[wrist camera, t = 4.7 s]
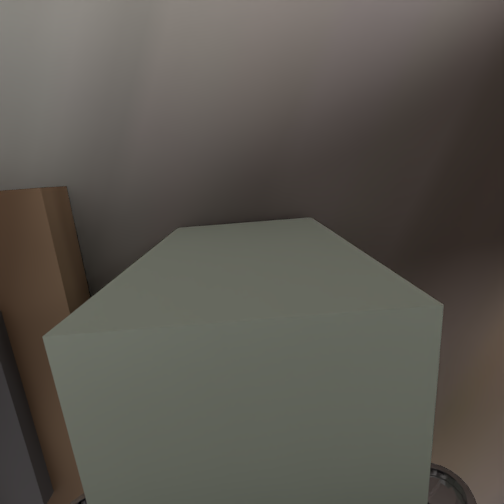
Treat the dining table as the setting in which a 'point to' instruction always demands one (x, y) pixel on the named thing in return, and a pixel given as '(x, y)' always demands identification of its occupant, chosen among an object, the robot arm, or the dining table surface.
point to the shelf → (35, 343)
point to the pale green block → (251, 373)
